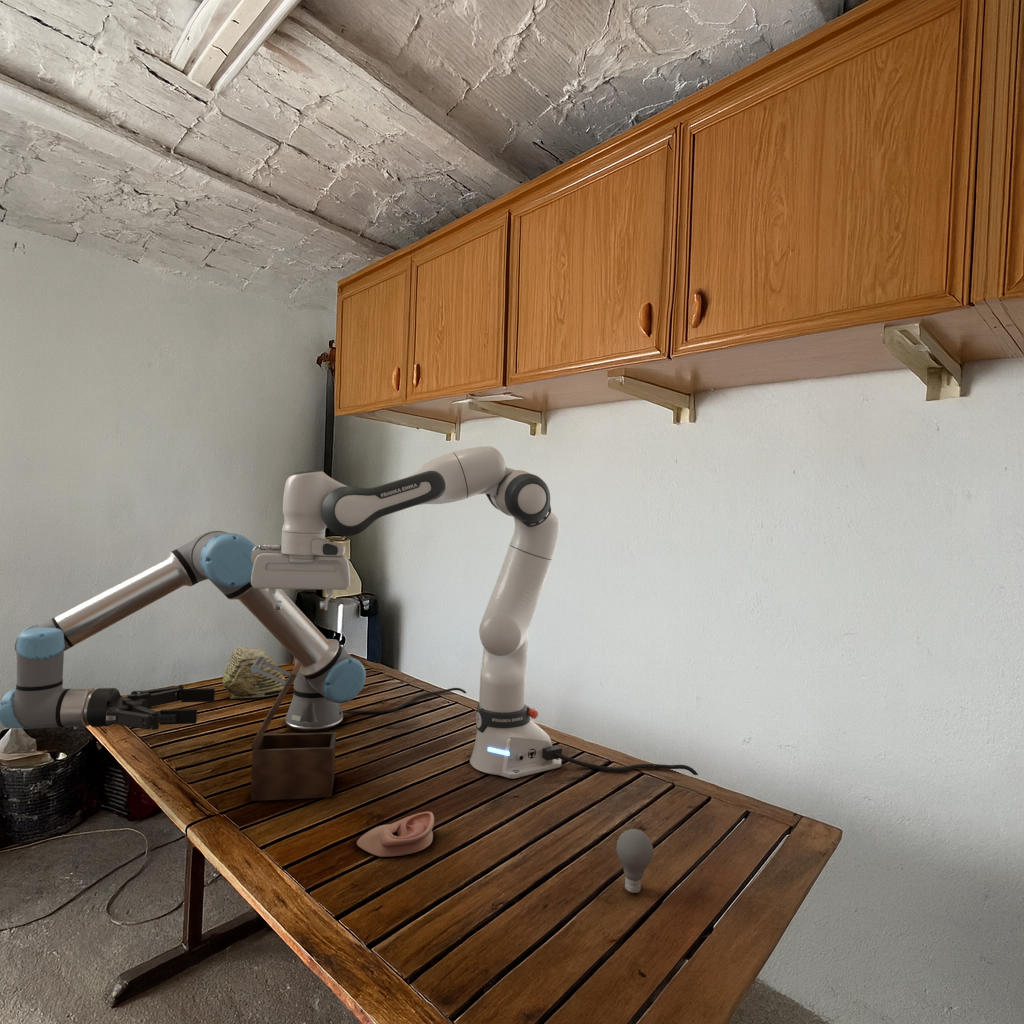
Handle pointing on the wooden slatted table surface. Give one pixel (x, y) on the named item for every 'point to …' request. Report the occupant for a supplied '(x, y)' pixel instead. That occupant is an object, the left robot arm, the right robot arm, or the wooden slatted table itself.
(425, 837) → the anatomical model
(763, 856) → the wooden slatted table surface
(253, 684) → the fossil
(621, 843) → the light bulb
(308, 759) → the chest
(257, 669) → the lid
